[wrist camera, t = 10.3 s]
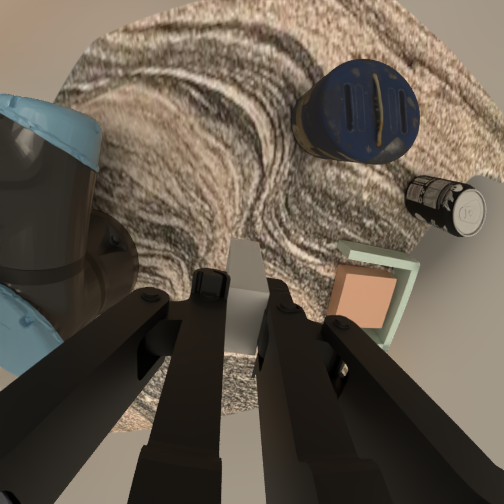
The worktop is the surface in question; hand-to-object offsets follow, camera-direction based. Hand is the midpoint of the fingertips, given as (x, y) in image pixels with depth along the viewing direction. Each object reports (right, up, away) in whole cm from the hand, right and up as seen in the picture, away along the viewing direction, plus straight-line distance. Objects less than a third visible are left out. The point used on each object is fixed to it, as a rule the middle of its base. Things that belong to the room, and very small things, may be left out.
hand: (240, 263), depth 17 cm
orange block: (+16, -5, +28) cm, 33 cm away
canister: (+10, +17, +21) cm, 29 cm away
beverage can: (+26, +9, +24) cm, 36 cm away
